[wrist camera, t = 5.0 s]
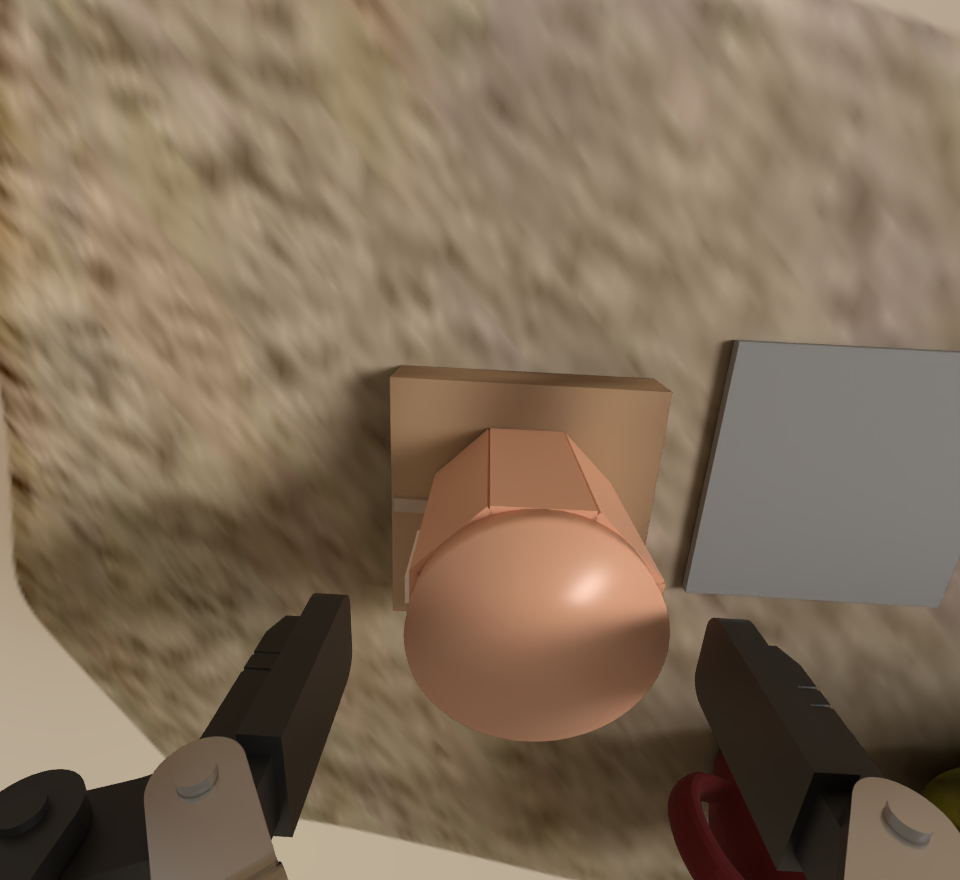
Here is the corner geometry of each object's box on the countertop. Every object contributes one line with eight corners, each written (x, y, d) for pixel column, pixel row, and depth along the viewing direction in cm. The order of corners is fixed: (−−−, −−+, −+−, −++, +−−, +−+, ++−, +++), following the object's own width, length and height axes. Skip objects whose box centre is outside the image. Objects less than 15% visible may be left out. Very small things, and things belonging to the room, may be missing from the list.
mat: (1031, 355, 17) (1043, 357, 17) (930, 601, 20) (938, 607, 20) (734, 339, 17) (739, 341, 17) (682, 586, 21) (685, 592, 20)
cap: (618, 434, 16) (692, 533, 10) (595, 589, 18) (647, 748, 12) (427, 425, 16) (391, 518, 10) (425, 580, 18) (394, 734, 12)
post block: (654, 378, 18) (745, 446, 11) (618, 592, 21) (674, 745, 14) (401, 365, 18) (344, 424, 11) (402, 579, 21) (357, 723, 14)
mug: (592, 776, 24) (652, 1102, 15) (675, 653, 22) (811, 953, 12) (782, 840, 25) (952, 1183, 16) (884, 730, 23) (1158, 1061, 13)
